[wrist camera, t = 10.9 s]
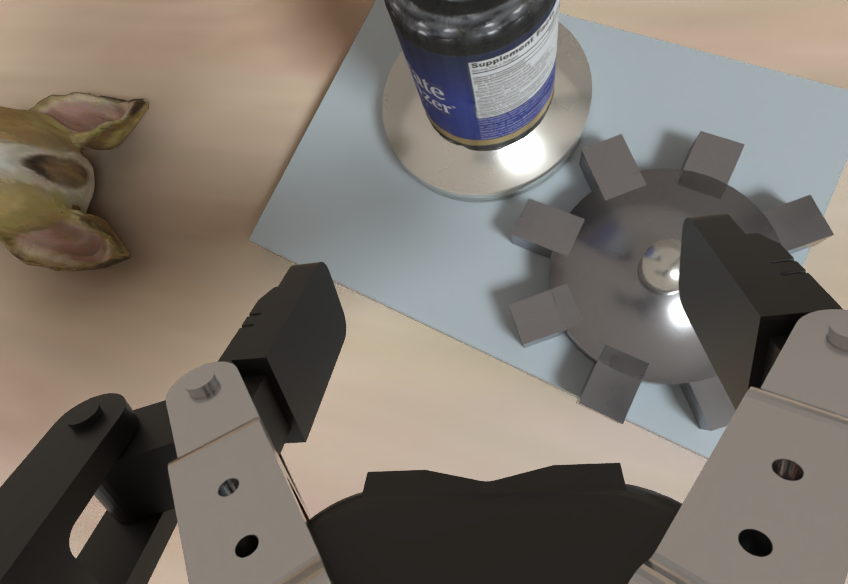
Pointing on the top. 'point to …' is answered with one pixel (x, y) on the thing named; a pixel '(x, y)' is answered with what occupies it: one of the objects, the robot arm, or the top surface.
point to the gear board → (537, 192)
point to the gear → (642, 271)
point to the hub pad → (497, 169)
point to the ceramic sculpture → (60, 179)
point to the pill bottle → (480, 65)
